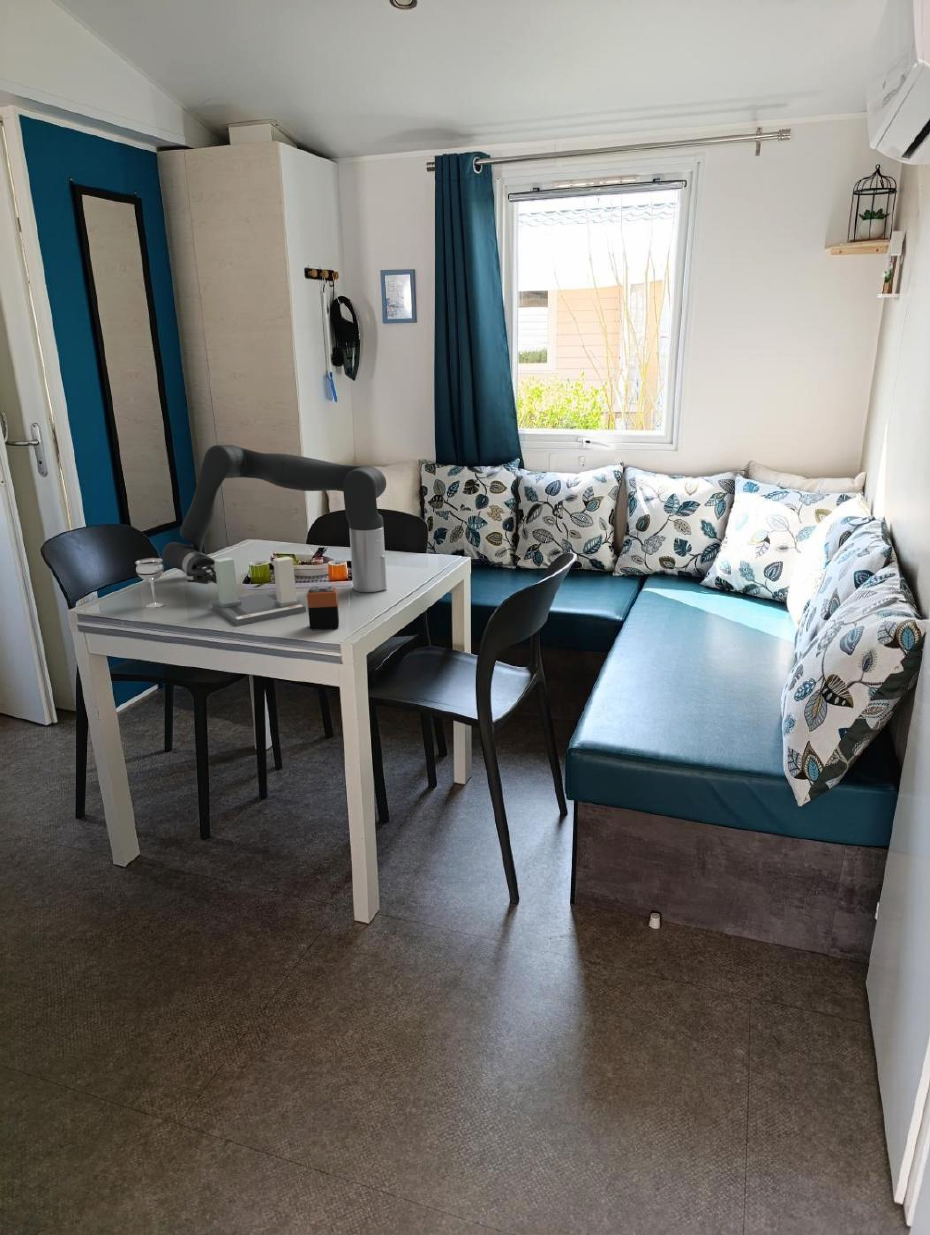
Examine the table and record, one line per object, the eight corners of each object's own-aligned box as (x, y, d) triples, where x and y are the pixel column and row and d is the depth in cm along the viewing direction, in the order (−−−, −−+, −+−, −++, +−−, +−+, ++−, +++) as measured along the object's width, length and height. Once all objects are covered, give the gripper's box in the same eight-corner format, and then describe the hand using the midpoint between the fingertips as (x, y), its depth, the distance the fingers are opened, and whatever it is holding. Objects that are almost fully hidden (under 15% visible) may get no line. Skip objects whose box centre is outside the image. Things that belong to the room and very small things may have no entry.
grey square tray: (212, 608, 212) (211, 602, 212) (277, 595, 222) (277, 590, 221) (237, 625, 198) (236, 619, 198) (305, 611, 208) (305, 605, 207)
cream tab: (274, 603, 210) (270, 558, 206) (293, 600, 212) (289, 555, 209) (281, 607, 206) (276, 562, 203) (299, 603, 209) (295, 558, 205)
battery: (310, 624, 198) (307, 585, 195) (339, 623, 199) (336, 583, 196) (309, 630, 194) (306, 590, 191) (338, 629, 195) (335, 588, 191)
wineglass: (174, 603, 217) (168, 559, 213) (153, 610, 211) (146, 565, 207) (157, 600, 220) (150, 556, 216) (135, 607, 214) (129, 562, 211)
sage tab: (216, 604, 210) (211, 559, 206) (235, 600, 213) (230, 556, 209) (222, 607, 207) (216, 562, 203) (241, 604, 210) (236, 559, 206)
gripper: (173, 557, 221) (193, 570, 207) (221, 550, 228) (244, 562, 214) (177, 584, 223) (197, 599, 209) (225, 576, 230) (247, 589, 216)
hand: (221, 580), depth 212 cm, fingers closed
